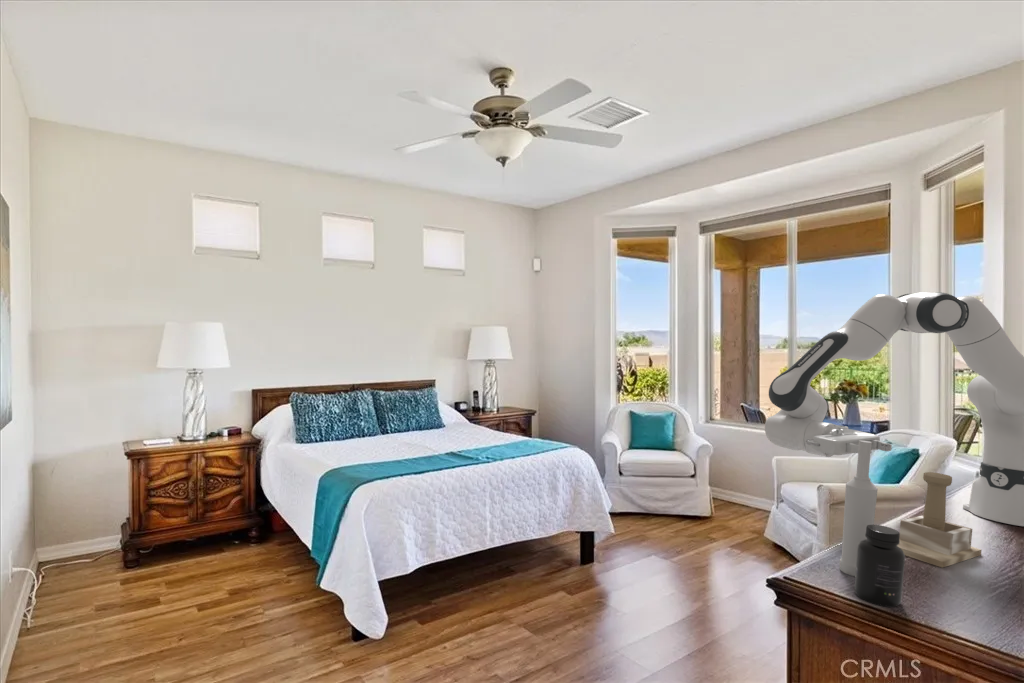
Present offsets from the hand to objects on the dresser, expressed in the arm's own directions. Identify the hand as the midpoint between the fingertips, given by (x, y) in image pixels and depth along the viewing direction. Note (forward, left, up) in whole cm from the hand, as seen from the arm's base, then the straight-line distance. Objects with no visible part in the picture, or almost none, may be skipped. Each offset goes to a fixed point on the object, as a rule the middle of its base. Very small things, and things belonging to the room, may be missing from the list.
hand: (880, 449), depth 140 cm
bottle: (+36, +14, -19) cm, 43 cm away
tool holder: (+6, +14, -19) cm, 24 cm away
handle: (+4, +14, -18) cm, 23 cm away
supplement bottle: (+44, +22, -19) cm, 53 cm away
